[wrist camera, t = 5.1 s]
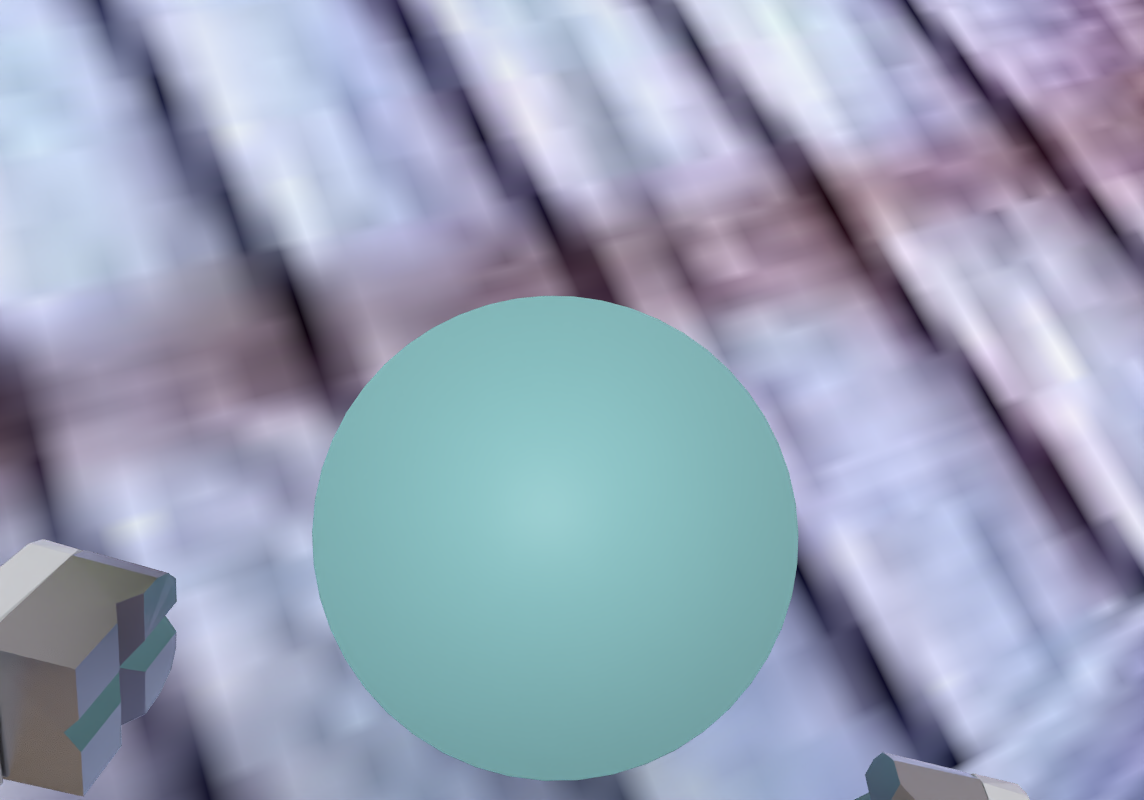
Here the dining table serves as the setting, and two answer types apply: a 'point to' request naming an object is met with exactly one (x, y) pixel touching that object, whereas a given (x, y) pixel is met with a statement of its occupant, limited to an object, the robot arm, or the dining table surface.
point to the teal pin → (555, 538)
